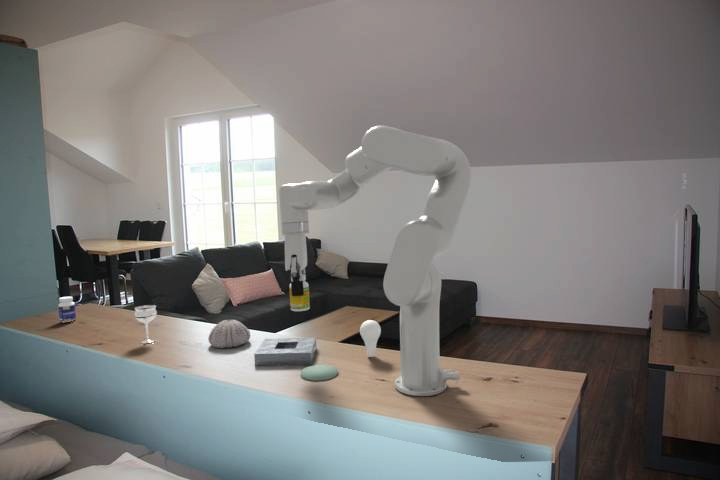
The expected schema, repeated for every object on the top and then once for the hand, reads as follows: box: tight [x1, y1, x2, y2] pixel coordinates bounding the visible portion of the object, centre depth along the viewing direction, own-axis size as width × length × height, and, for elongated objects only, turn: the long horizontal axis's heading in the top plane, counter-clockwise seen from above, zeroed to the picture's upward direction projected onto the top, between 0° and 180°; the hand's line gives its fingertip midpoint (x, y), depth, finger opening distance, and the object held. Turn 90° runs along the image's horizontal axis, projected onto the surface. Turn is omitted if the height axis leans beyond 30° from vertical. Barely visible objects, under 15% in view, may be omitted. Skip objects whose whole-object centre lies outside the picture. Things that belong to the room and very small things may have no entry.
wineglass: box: [134, 304, 158, 343], centre depth 161 cm, size 7×7×12 cm
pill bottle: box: [57, 295, 77, 321], centre depth 192 cm, size 6×6×10 cm
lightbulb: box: [359, 319, 382, 358], centre depth 140 cm, size 6×6×11 cm
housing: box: [253, 337, 317, 367], centre depth 143 cm, size 16×14×4 cm
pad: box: [300, 364, 339, 382], centre depth 129 cm, size 10×10×1 cm
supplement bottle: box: [289, 273, 311, 312], centre depth 134 cm, size 5×5×10 cm
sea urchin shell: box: [207, 319, 251, 349], centre depth 157 cm, size 13×14×8 cm
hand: (299, 292), depth 134 cm, fingers closed on supplement bottle, 5 cm apart
